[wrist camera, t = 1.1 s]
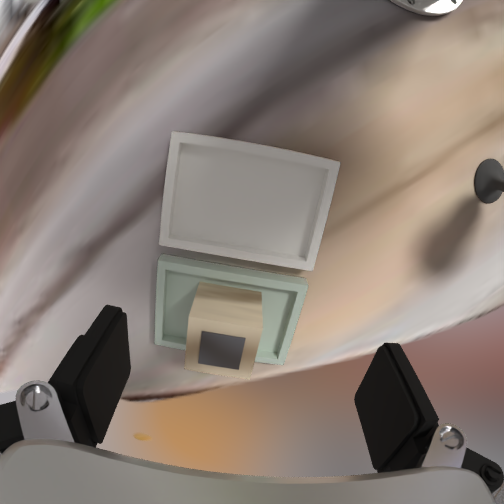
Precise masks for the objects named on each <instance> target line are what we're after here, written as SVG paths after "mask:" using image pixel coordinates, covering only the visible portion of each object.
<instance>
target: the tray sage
mask: <svg viewBox="0 0 504 504" xmlns="http://www.w3.org/2000/svg"><path fill="white" fill-rule="evenodd" d="M199 282H206V283H211V284H217V285H223V286H229V287H235V288H241V289H247V290H253V291H259V292H262V316H263V330H262V334H261V338H260V342H259V346H258V350H257V354H256V358H255V362H261V363H269V364H277V365H284V362H285V359H286V356H287V353H288V350H289V347H290V344H291V341H292V338H293V335H294V331H295V328H296V325H297V322H298V319H299V315H300V312H301V309H302V306H303V302H304V299H305V296H306V292H307V289H308V283H307V280H306V278H301V277H295V276H289V275H283V274H277V273H271V272H264V271H259V270H253V269H247V268H241V267H235V266H229V265H223V264H217V263H212V262H206V261H200V260H194V259H189V258H183V257H177V256H172V255H166V254H161V256H160V257H159V259H158V264H157V281H156V304H155V344H156V345H160V346H165V347H170V348H175V349H180V350H186V341H187V330H188V319H189V314H190V311H191V307H192V304H193V301H194V298H195V295H196V292H197V288H198V285H199Z"/></svg>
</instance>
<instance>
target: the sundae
mask: <svg viewBox="0 0 504 504" xmlns="http://www.w3.org/2000/svg"><path fill="white" fill-rule="evenodd" d="M475 189H476V193H477V195H478V197H479V198H480V200H481V201H483V202H485V203H493V202H494V201H496V200H497V199H499V197H500V196H501V194H502V192H504V170H503V168H502V166H501V164H500V163H499V162H498V161H496V160H495V159H487V160H485V161H483V162H482V163H481V164H480V166H479V168H478V169H477V172H476V176H475Z"/></svg>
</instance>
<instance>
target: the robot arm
mask: <svg viewBox="0 0 504 504" xmlns="http://www.w3.org/2000/svg"><path fill="white" fill-rule="evenodd" d="M390 1H392V2H393V3H395V4H397V5H398V6H400V7H402V8H405V9H407V10H409V11H412V12H415V13H418V14H421V15H428V16H440V15H444V14H447V13H449V12H451V11H454V10H455V9H456V8H458V7H459V6H460V4H461V2H462V1H463V0H390ZM130 370H131V365H130V354H129V342H128V329H127V315H126V313H124V312H122V308H120V307H115V306H110V305H106V306H105V307H104V308H103V309H102V311H101V312H100V314H99V315H98V316H97V318H96V319H95V321H94V322H93V324H92V325H91V327H90V328H89V329H88V331H87V332H86V334H85V335H80V336H79V337H78V338H77V339H76V341H75V342H74V344H73V345H72V346H71V348H70V349H69V351H68V352H67V354H66V355H65V357H64V358H63V360H62V361H61V363H60V364H59V366H58V367H57V369H56V371H55V372H54V374H53V375H52V377H51V378H50V380H49V381H48V383H46V382H44V381H31V382H28V383H25V384H24V385H22V386H21V387H20V388H19V390H18V391H17V394H16V401H13V402H9V403H6V404H2V405H0V504H504V482H503V481H504V475H503V472H502V469H501V468H500V466H499V465H498V464H496V463H495V462H493V461H491V460H489V459H487V458H485V457H483V456H482V455H480V454H478V453H476V452H474V451H472V450H470V449H468V448H467V438H466V435H465V434H464V432H463V431H462V430H461V429H460V428H459V427H457V426H456V425H453V424H449V423H445V424H441V425H440V426H439V425H438V420H439V418H438V416H437V414H436V412H435V411H434V408H433V406H432V404H431V402H430V400H429V398H428V396H427V394H426V392H425V390H424V388H423V387H422V385H421V383H420V381H419V379H418V377H417V375H416V373H415V371H414V370H413V368H412V366H411V364H410V362H409V360H408V358H407V357H406V355H405V353H404V351H403V349H402V348H401V346H400V344H398V343H384V344H383V345H382V346H380V347H379V348H378V350H377V352H376V354H375V356H374V358H373V360H372V362H371V364H370V366H369V368H368V370H367V372H366V374H365V376H364V379H363V380H362V382H361V384H360V386H359V388H358V390H357V392H356V394H355V399H354V400H355V405H356V408H357V412H358V415H359V419H360V422H361V425H362V429H363V432H364V436H365V439H366V443H367V446H368V450H369V454H370V457H371V461H372V465H373V467H374V469H375V470H377V472H378V473H373V474H363V475H351V476H335V477H264V476H250V475H249V476H248V475H238V474H227V473H218V472H210V471H202V470H196V469H189V468H183V467H177V466H172V465H167V464H162V463H157V462H152V461H148V460H143V459H138V458H134V457H130V456H126V455H122V454H118V453H114V452H110V451H107V450H103V449H99V448H96V445H97V443H99V444H101V443H102V442H103V439H104V437H105V435H106V432H107V429H108V427H109V424H110V422H111V419H112V417H113V414H114V412H115V409H116V407H117V404H118V402H119V399H120V397H121V394H122V392H123V390H124V387H125V385H126V382H127V380H128V378H129V375H130Z"/></svg>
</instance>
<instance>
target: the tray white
mask: <svg viewBox="0 0 504 504" xmlns="http://www.w3.org/2000/svg"><path fill="white" fill-rule="evenodd" d="M340 163H341V162H338V161H336V160H332V159H328V158H324V157H320V156H315V155H311V154H306V153H302V152H297V151H293V150H288V149H283V148H278V147H273V146H268V145H263V144H257V143H252V142H246V141H240V140H234V139H228V138H221V137H215V136H208V135H201V134H194V133H186V132H178V131H174V132H172V133H171V140H170V147H169V154H168V161H167V169H166V177H165V185H164V194H163V204H162V214H161V224H160V236H159V245H162V246H168V247H173V248H179V249H185V250H190V251H196V252H202V253H208V254H213V255H219V256H225V257H231V258H237V259H243V260H248V261H254V262H260V263H266V264H272V265H278V266H284V267H290V268H296V269H302V270H308V271H313V268H314V265H315V261H316V257H317V254H318V250H319V247H320V243H321V239H322V235H323V232H324V228H325V224H326V220H327V216H328V213H329V209H330V205H331V201H332V197H333V193H334V189H335V184H336V180H337V176H338V172H339V168H340Z"/></svg>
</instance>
